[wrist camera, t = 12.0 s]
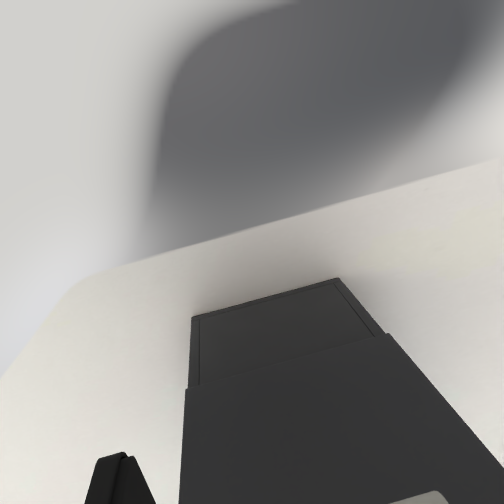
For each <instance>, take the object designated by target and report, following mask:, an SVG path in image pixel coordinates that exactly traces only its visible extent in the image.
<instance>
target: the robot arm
mask: <svg viewBox="0 0 504 504" xmlns="http://www.w3.org/2000/svg"><path fill="white" fill-rule="evenodd" d="M84 504H156V503H155V500H154V498H153V496H152V494H151V492H150V489H149V487H148V485H147V483H146V481H145V478H144V476H143V474H142V472H141V470H140V467H139V465H138V463H137V461H136V459H135V457H134V456H130V457H128V456H127V455H126V453H125V452H120V453H116V454H113V455H109V456H106V457H102V458H99V459H98V460H97V463H96V465H95V469H94V472H93V476H92V479H91V483H90V486H89V490H88V493H87V496H86V500H85V503H84Z"/></svg>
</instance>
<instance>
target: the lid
mask: <svg viewBox="0 0 504 504" xmlns="http://www.w3.org/2000/svg"><path fill="white" fill-rule="evenodd" d="M179 504H504V468H503V467H502V465H501V464H500V463H499V462H498V461H497V460H496V458H495V457H494V456H493V455H492V454H491V452H490V451H489V450H488V449H487V448H486V447H485V445H484V444H483V443H482V442H481V441H480V440H479V438H478V437H477V436H476V435H475V434H474V432H473V431H472V430H471V429H470V428H469V427H468V425H467V424H466V423H465V422H464V421H463V420H462V418H461V417H460V416H459V415H458V414H457V413H456V411H455V410H454V409H453V408H452V407H451V405H450V404H449V403H448V402H447V401H446V400H445V398H444V397H443V396H442V395H441V394H440V393H439V391H438V390H437V389H436V388H435V387H434V385H433V384H432V383H431V382H430V381H429V380H428V378H427V377H426V376H425V375H424V374H423V373H422V371H421V370H420V369H419V368H418V367H417V365H416V364H415V363H414V362H413V361H412V360H411V358H410V357H409V356H408V355H407V354H406V353H405V351H404V350H403V349H402V348H401V347H400V345H399V344H398V343H397V342H396V341H395V340H394V338H393V337H392V336H391V335H390V334H389V333H387V334H383V335H379V336H376V337H372V338H369V339H365V340H361V341H358V342H354V343H351V344H347V345H343V346H340V347H336V348H332V349H329V350H325V351H322V352H318V353H314V354H311V355H307V356H304V357H300V358H296V359H293V360H289V361H285V362H282V363H278V364H275V365H271V366H267V367H264V368H260V369H257V370H253V371H249V372H246V373H242V374H239V375H235V376H231V377H228V378H224V379H220V380H217V381H213V382H210V383H206V384H202V385H199V386H195V387H192V388H188V389H186V390H185V405H184V422H183V439H182V455H181V472H180V489H179Z"/></svg>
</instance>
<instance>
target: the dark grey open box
mask: <svg viewBox="0 0 504 504" xmlns="http://www.w3.org/2000/svg"><path fill="white" fill-rule="evenodd" d="M383 334H386V333H385V332H384V331H383V330H382V329H381V327H380V326H379V325H378V324H377V323H376V322H375V320H374V319H373V318H372V317H371V316H370V314H369V313H368V312H367V311H366V310H365V308H364V307H363V306H362V305H361V304H360V302H359V301H358V300H357V299H356V298H355V296H354V295H353V294H352V293H351V292H350V290H349V289H348V288H347V287H346V286H345V284H344V283H343V282H342V281H341V280H340V279H339V278H335V279H331V280H328V281H324V282H320V283H317V284H313V285H309V286H306V287H302V288H298V289H295V290H291V291H287V292H284V293H280V294H276V295H272V296H269V297H265V298H261V299H258V300H254V301H250V302H247V303H243V304H239V305H236V306H232V307H228V308H225V309H221V310H217V311H213V312H210V313H206V314H202V315H199V316H195V317H192V318H191V336H190V355H189V374H188V388H192V387H195V386H199V385H202V384H206V383H210V382H213V381H217V380H220V379H224V378H228V377H231V376H235V375H239V374H242V373H246V372H249V371H253V370H257V369H260V368H264V367H267V366H271V365H275V364H278V363H282V362H285V361H289V360H293V359H296V358H300V357H304V356H307V355H311V354H314V353H318V352H322V351H325V350H329V349H332V348H336V347H340V346H343V345H347V344H351V343H354V342H358V341H361V340H365V339H369V338H372V337H376V336H379V335H383Z"/></svg>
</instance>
